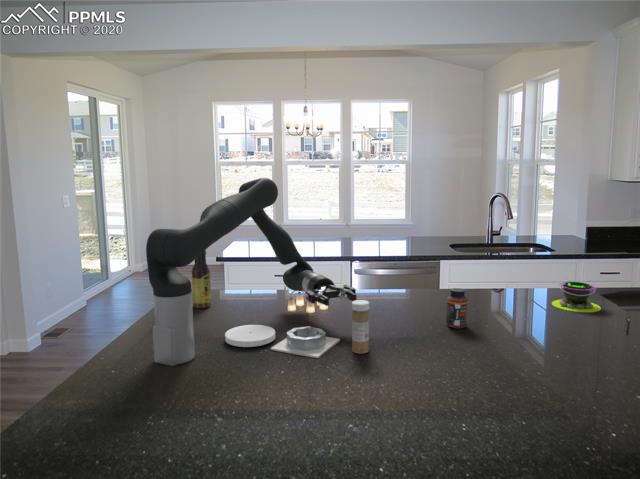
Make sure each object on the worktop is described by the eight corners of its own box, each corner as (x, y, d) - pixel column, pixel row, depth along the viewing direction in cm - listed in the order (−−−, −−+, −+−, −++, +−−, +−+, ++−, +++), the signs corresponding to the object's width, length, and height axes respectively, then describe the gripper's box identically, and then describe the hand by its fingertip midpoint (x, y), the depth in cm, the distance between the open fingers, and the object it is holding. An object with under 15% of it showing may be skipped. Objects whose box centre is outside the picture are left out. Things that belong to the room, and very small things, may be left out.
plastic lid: (214, 345, 137) (214, 336, 136) (245, 330, 149) (244, 322, 149) (256, 354, 130) (256, 344, 130) (284, 337, 143) (284, 329, 142)
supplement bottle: (462, 330, 146) (463, 293, 144) (442, 326, 150) (444, 290, 148) (469, 325, 151) (470, 289, 149) (450, 321, 154) (452, 286, 153)
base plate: (318, 358, 126) (318, 356, 126) (270, 349, 132) (270, 348, 132) (339, 340, 139) (340, 338, 139) (295, 333, 145) (295, 331, 145)
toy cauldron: (555, 310, 165) (557, 278, 164) (548, 298, 179) (550, 269, 178) (605, 314, 161) (608, 281, 159) (595, 301, 175) (597, 271, 173)
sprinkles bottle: (360, 346, 134) (360, 298, 132) (372, 351, 130) (373, 301, 128) (348, 350, 131) (348, 301, 129) (360, 356, 128) (360, 305, 126)
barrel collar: (314, 352, 129) (314, 341, 128) (281, 346, 133) (281, 335, 133) (330, 340, 138) (330, 329, 137) (298, 335, 142) (298, 325, 141)
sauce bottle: (208, 309, 170) (206, 251, 167) (190, 309, 170) (187, 252, 167) (213, 303, 176) (211, 248, 173) (195, 303, 176) (193, 248, 173)
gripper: (296, 277, 151) (318, 290, 136) (338, 272, 156) (363, 284, 142) (296, 301, 152) (318, 316, 137) (338, 295, 158) (363, 309, 143)
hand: (341, 300), depth 140 cm, fingers open, 8 cm apart
